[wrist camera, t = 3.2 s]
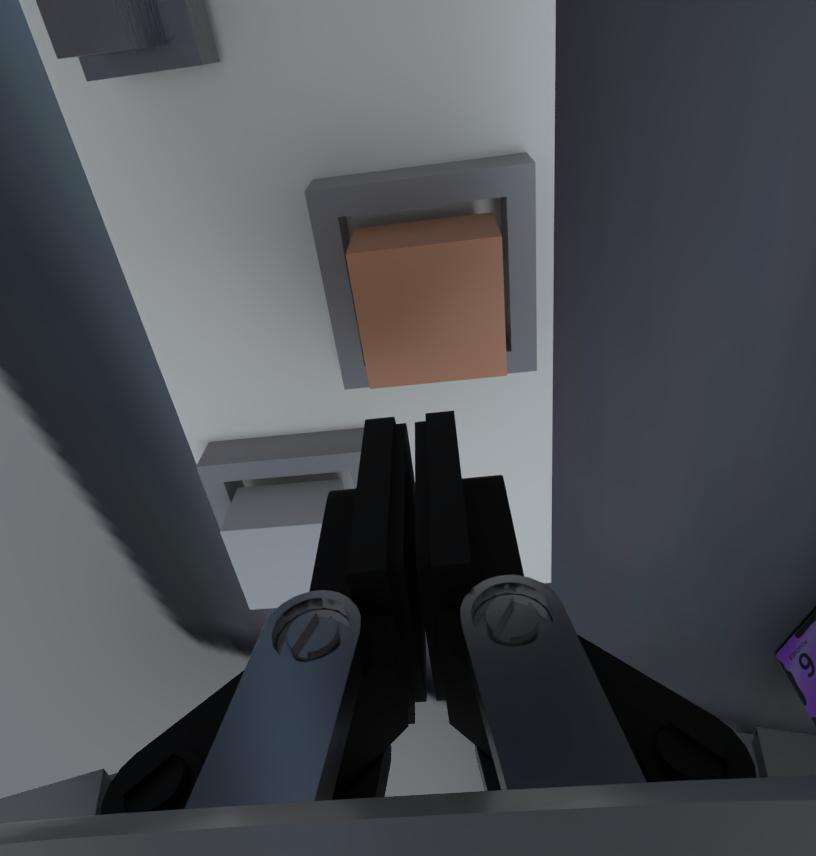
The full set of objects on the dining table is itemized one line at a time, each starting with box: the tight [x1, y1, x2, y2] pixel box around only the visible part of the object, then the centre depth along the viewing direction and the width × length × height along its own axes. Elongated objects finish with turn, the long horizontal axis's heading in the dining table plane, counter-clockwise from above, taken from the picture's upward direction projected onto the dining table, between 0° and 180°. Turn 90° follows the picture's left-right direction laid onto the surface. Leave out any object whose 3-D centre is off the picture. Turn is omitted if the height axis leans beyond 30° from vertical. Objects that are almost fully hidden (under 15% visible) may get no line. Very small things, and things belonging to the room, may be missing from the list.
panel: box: [19, 0, 556, 583], centre depth 21 cm, size 14×30×5 cm, turn 7°
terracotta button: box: [346, 212, 507, 389], centre depth 18 cm, size 4×4×2 cm
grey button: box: [220, 479, 344, 610], centre depth 23 cm, size 4×4×2 cm
